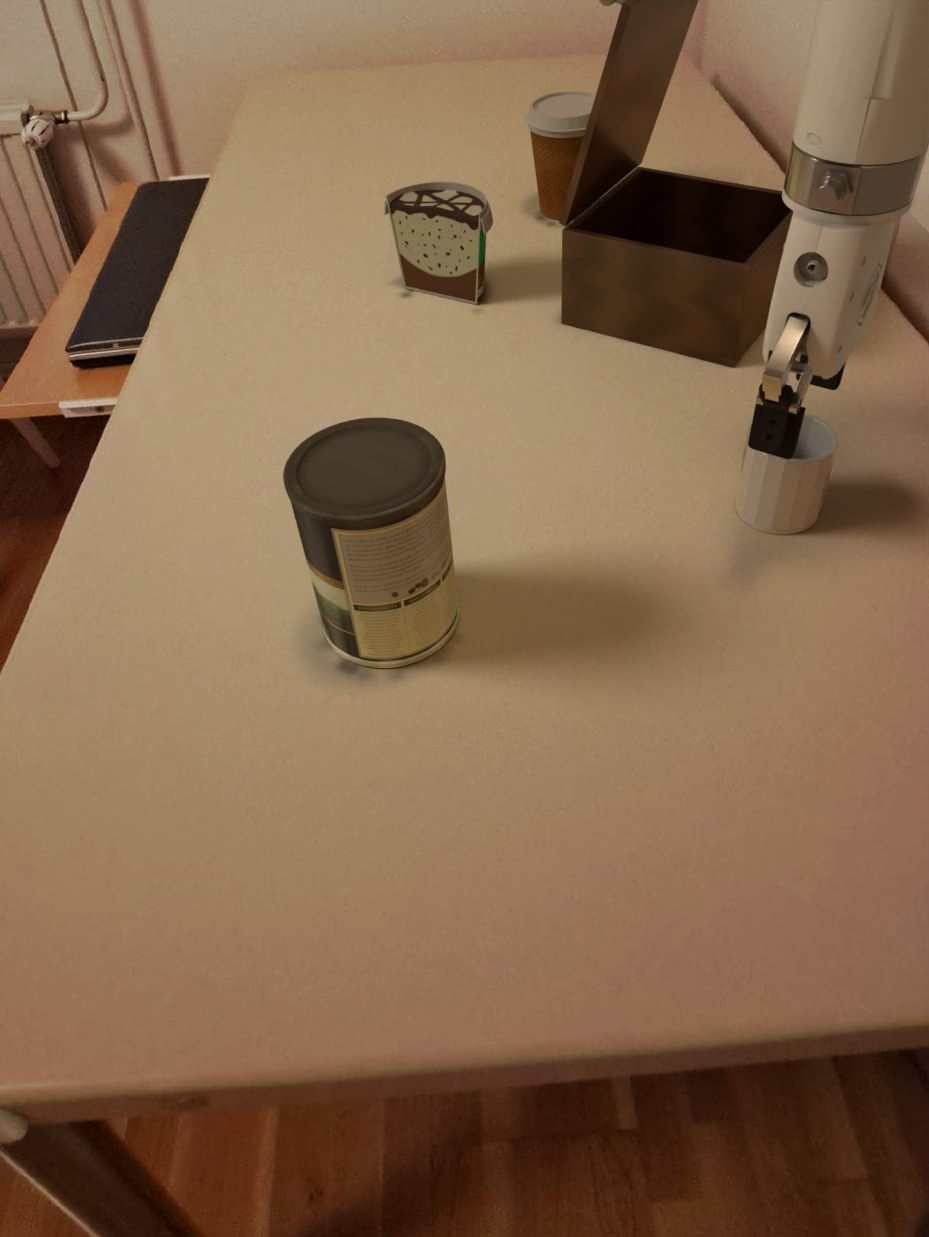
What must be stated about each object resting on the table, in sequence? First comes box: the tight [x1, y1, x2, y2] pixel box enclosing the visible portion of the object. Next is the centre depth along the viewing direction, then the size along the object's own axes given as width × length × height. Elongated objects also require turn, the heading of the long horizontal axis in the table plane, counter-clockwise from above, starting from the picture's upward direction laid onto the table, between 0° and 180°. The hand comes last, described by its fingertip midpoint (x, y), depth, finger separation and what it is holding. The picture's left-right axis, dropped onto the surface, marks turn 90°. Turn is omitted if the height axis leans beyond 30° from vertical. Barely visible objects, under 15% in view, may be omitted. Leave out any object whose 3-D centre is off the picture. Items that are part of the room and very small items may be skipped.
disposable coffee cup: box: [525, 90, 596, 221], centre depth 111 cm, size 10×10×12 cm
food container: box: [383, 181, 494, 306], centre depth 100 cm, size 12×6×10 cm, turn 59°
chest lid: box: [558, 0, 699, 228], centre depth 86 cm, size 19×17×5 cm
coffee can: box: [282, 416, 460, 669], centre depth 64 cm, size 10×10×14 cm
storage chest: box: [560, 166, 794, 368], centre depth 94 cm, size 19×17×10 cm
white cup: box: [734, 412, 839, 536], centre depth 72 cm, size 6×6×7 cm
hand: (794, 416), depth 68 cm, fingers open, 9 cm apart
